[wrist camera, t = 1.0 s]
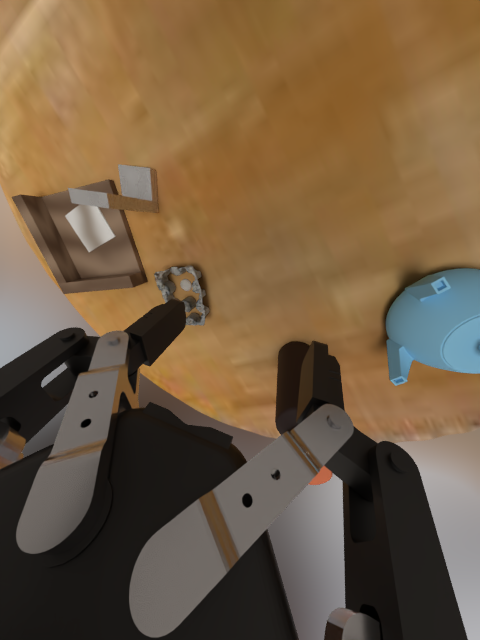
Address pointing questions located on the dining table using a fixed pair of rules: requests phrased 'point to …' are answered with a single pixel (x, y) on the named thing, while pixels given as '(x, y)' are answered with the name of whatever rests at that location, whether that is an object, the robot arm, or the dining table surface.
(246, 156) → the dining table surface
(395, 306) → the teapot
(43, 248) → the arena
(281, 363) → the bottle
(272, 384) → the dining table surface
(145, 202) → the bracket
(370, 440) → the robot arm
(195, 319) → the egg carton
